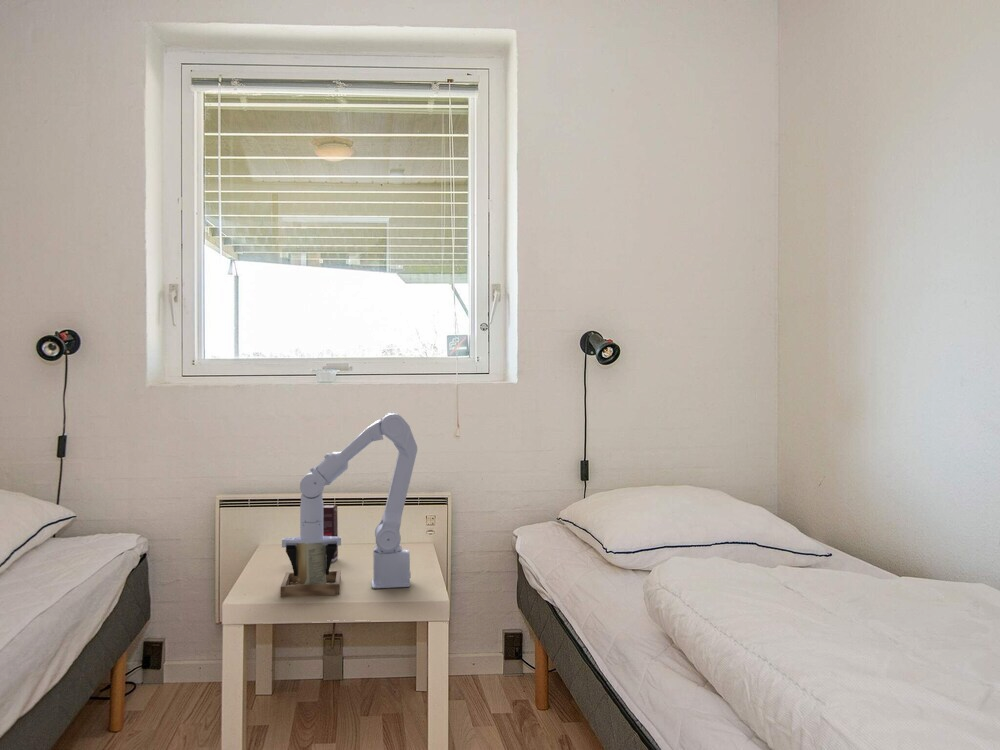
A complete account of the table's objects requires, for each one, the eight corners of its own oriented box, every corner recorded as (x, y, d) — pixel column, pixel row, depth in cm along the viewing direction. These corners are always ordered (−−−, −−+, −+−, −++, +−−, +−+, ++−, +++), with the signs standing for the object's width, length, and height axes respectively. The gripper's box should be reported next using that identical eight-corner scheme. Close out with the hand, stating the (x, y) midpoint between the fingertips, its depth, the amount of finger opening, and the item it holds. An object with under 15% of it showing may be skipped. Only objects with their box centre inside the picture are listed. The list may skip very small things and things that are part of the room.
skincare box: (316, 584, 198) (316, 536, 198) (326, 586, 196) (327, 538, 196) (295, 589, 193) (295, 540, 193) (306, 592, 190) (306, 543, 191)
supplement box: (338, 558, 226) (338, 504, 226) (334, 562, 222) (334, 507, 222) (309, 558, 227) (309, 504, 227) (304, 562, 222) (304, 507, 222)
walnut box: (340, 579, 203) (340, 570, 203) (339, 594, 189) (339, 584, 189) (285, 582, 200) (285, 572, 200) (280, 597, 186) (280, 586, 186)
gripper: (341, 517, 200) (341, 569, 200) (283, 518, 197) (283, 571, 197) (340, 522, 193) (340, 576, 193) (281, 523, 190) (280, 578, 190)
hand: (311, 574), depth 194 cm, fingers closed on skincare box, 7 cm apart
